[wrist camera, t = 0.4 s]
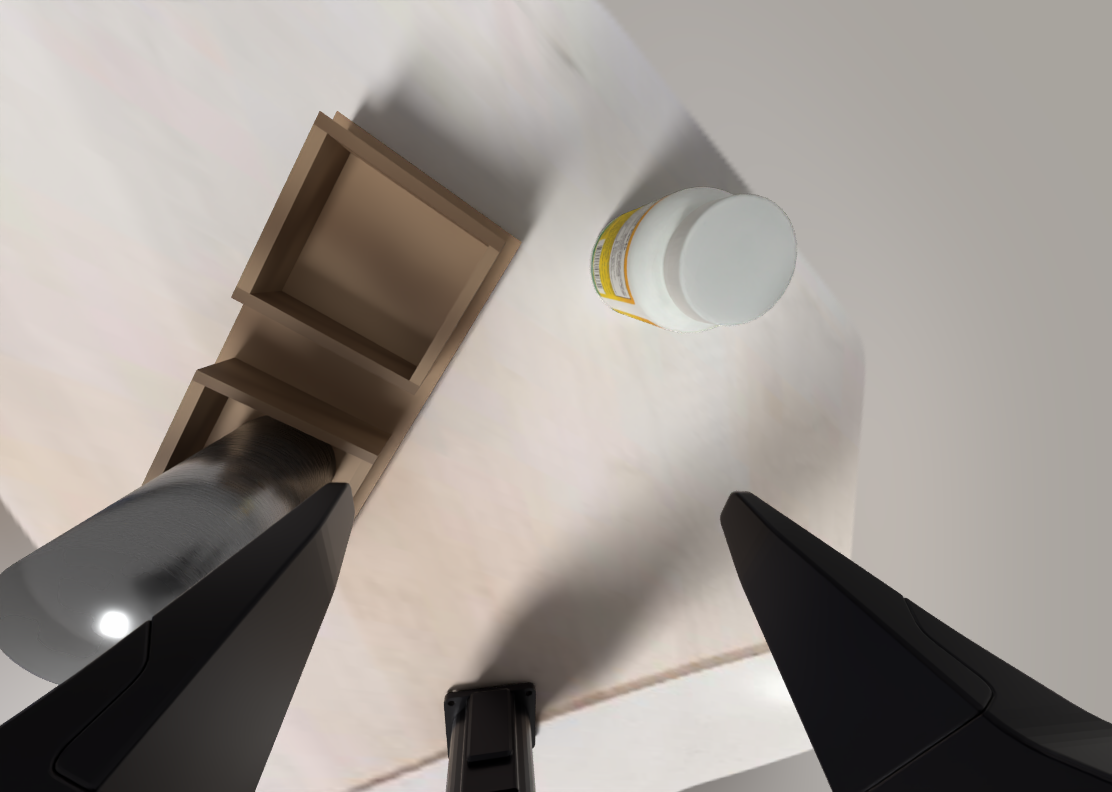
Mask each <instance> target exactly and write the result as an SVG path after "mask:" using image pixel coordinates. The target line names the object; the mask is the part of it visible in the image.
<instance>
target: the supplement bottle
mask: <svg viewBox="0 0 1112 792" xmlns="http://www.w3.org/2000/svg"><path fill="white" fill-rule="evenodd" d="M796 257H797V242H796V237H795V232H794V229H793V226H792V224H791V222H790V220H789V218H788V216H787V215H786V213H785V212H784V211H783V210H782V209H781V208H780V207H779V206H778V205H777V204H775V203H774V202H772V201H771V200H769V199H767V198H764V197H762V196H759V195H753V194H738V195H732V194H730V193H728V192H726V191H723V190H720V189H716V188H711V187H694V188H688V189H684V190H681V191H678V192H675V193H673V194H670V195H668V196H666V197H663V198H661V199H658V200H656V201H654V202H651V203H649V204H647V205H645V206H642V207H640V208H637V209H635V210H632V211H630V212H627V213H625V214H623V215H621V216H619V217H617V218H615V219H614V220H613V221H611V222H610V223H609V224H608V225H607V226H606V227H605V228H604V229H603V230H602V232H601V233H600V235H599V236H598V238H597V240H596V242H595V244H594V246H593V249H592V253H591V258H590V276H591V281H592V284H593V287H594V289H595V291H596V293H597V295H598V296H599V298H600V299H601V300H602V301H603V302H604V303H605V304H606V305H607V306H608V307H609V308H611V309H612V310H614V311H616V312H618V313H621V314H623V315H626V316H629V317H632V318H635V319H638V320H641V321H643V322H646V323H649V324H652V325H655V326H658V327H660V328H663V329H666V330H669V331H673V332H678V333H697V332H703V331H707V330H710V329H713V328H715V327H717V326H719V325H720V326H735V325H742V324H745V323H748V322H751V321H752V320H755V319H757V318H758V317H760V316H762V315H763V314H765V313H766V312H767V311H768V310H770V309H771V308H772V307H773V306H774V305H775V304H776V303H777V301H778V300H779V299H780V298H781V296H782V295H783V294H784V292H785V290H786V288H787V287H788V285H789V283H790V280H791V278H792V276H793V273H794V269H795V264H796Z"/></svg>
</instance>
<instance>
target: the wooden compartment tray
mask: <svg viewBox="0 0 1112 792" xmlns="http://www.w3.org/2000/svg"><path fill="white" fill-rule="evenodd" d="M521 243H522V242H521V241H519V240H518V239H516V238H515V237H514V236H512V235H511V234H509V233H508V232H507V231H505V230H504V229H502V228H501V227H500V226H498V225H497V224H495V223H494V222H493V221H491V220H490V219H488V218H487V217H485V216H484V215H483V214H481V213H480V212H478V211H477V210H476V209H474V208H473V207H471V206H470V205H469V204H467V203H466V202H464V201H463V200H462V199H460V198H459V197H457V196H456V195H455V194H453V193H452V192H450V191H449V190H448V189H446V188H445V187H443V186H442V185H441V184H439V183H438V182H436V181H435V180H434V179H432V178H431V177H429V176H428V175H427V174H425V173H424V172H422V171H421V170H419V169H418V168H417V167H415V166H414V165H412V164H411V163H410V162H408V161H407V160H405V159H404V158H403V157H401V156H400V155H398V154H397V153H396V152H394V151H393V150H391V149H390V148H389V147H387V146H386V145H384V144H383V143H382V142H380V141H379V140H377V139H376V138H375V137H373V136H372V135H370V134H369V133H368V132H366V131H365V130H363V129H362V128H361V127H359V126H358V125H356V124H355V123H353V122H352V121H351V120H349V119H348V118H346V117H345V116H344V115H342V114H341V113H339V112H338V111H337V112H336V114H335V116H334V118H333V120H332V119H331V118H329V117H328V116H326V115H325V114H324V113H322V112H321V111H319V114H318V116H317V118H316V120H315V122H314V124H313V126H312V128H311V130H310V133H309V135H308V137H307V139H306V141H305V143H304V145H303V147H302V149H301V151H300V154H299V156H298V158H297V160H296V162H295V164H294V166H293V168H292V170H291V173H290V175H289V177H288V179H287V181H286V183H285V185H284V187H283V189H282V191H281V194H280V196H279V198H278V200H277V202H276V204H275V206H274V208H273V210H272V213H271V215H270V217H269V219H268V221H267V223H266V225H265V227H264V229H263V231H262V234H261V236H260V238H259V240H258V242H257V244H256V246H255V248H254V250H253V252H252V255H251V257H250V259H249V261H248V263H247V265H246V267H245V269H244V271H243V274H242V276H241V278H240V280H239V282H238V284H237V286H236V288H235V290H234V292H233V295H232V297H231V298H233V299H235V300H237V301H239V302H241V303H242V304H243V306H242V308H241V311H240V313H239V315H238V317H237V319H236V321H235V323H234V325H233V327H232V329H231V331H230V333H229V335H228V337H227V340H226V342H225V344H224V346H223V348H222V350H221V352H220V354H219V356H218V358H217V360H216V362H215V364H213V365H210V366H207V367H204V368H201V369H198V370H196V372H195V375H194V377H193V379H192V381H191V383H190V385H189V387H188V389H187V391H186V393H185V396H184V398H183V400H182V402H181V404H180V406H179V408H178V410H177V412H176V415H175V417H174V419H173V421H172V423H171V425H170V427H169V429H168V431H167V433H166V436H165V438H164V440H163V442H162V444H161V446H160V448H159V450H158V452H157V455H156V457H155V459H154V461H153V463H152V465H151V467H150V469H149V471H148V473H147V476H146V478H145V480H144V482H143V484H142V486H143V485H145V484H146V483H148V482H149V481H151V480H153V479H154V478H156V477H158V476H159V475H161V474H163V473H164V472H166V471H168V470H169V469H171V468H173V467H174V466H176V465H177V464H179V463H181V462H182V461H184V460H186V459H187V458H189V457H191V456H192V455H194V454H196V453H197V452H199V451H201V450H202V449H204V448H206V447H207V446H209V445H210V444H212V443H214V442H215V441H217V440H219V439H220V438H222V437H224V436H225V435H227V434H229V433H230V432H232V431H234V430H235V429H237V428H238V427H240V426H242V425H243V424H245V423H247V422H248V421H251V420H253V419H255V418H258V417H261V416H266V415H268V416H270V417H272V418H274V419H276V420H279V421H281V422H283V423H285V424H287V425H289V426H291V427H294V428H296V429H298V430H300V431H302V432H304V433H306V434H309V435H311V436H313V437H315V438H317V439H319V440H321V441H324V442H326V443H328V444H330V445H331V446H332V448H333V450H334V453H335V458H336V471H335V475H334V477H333V480H332V481H331V482H346V483H349V484H350V486H351V490H352V496H353V502H354V508H355V516H354V519H355V517H356V516H357V514H358V512H359V511H360V509H361V507H362V506H363V504H364V502H365V501H366V499H367V498H368V496H369V494H370V493H371V491H372V489H373V488H374V486H375V484H376V483H377V481H378V479H379V478H380V476H381V474H382V473H383V471H384V469H385V468H386V466H387V464H388V463H389V461H390V459H391V458H392V456H393V455H394V453H395V451H396V450H397V448H398V446H399V445H400V443H401V441H402V440H403V438H404V436H405V435H406V433H407V431H408V430H409V428H410V426H411V425H412V423H413V421H414V420H415V418H416V416H417V415H418V413H419V412H420V410H421V408H422V407H423V405H424V403H425V402H426V400H427V398H428V397H429V395H430V393H431V392H432V390H433V388H434V387H435V385H436V383H437V382H438V380H439V378H440V377H441V375H442V373H443V372H444V370H445V369H446V367H447V365H448V364H449V362H450V360H451V359H452V357H453V355H454V354H455V352H456V350H457V349H458V347H459V345H460V344H461V342H462V340H463V339H464V337H465V335H466V334H467V332H468V331H469V329H470V327H471V326H472V324H473V322H474V321H475V319H476V317H477V316H478V314H479V312H480V311H481V309H482V307H483V306H484V304H485V302H486V301H487V299H488V297H489V296H490V294H491V292H492V291H493V289H494V288H495V286H496V284H497V283H498V281H499V279H500V278H501V276H502V274H503V273H504V271H505V269H506V268H507V266H508V264H509V263H510V261H511V259H512V258H513V256H514V254H515V253H516V251H517V249H518V248H519V246H520V245H521Z"/></svg>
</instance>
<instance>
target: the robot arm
mask: <svg viewBox="0 0 1112 792" xmlns="http://www.w3.org/2000/svg"><path fill="white" fill-rule="evenodd" d="M354 516H355V508H354V502H353V496H352V490H351V486H350V484H349V483H346V482H330V483H327V484H325V485H324V486H323V487H321V488H320V489H319V490H317V491H316V492H315V493H313V494H312V495H311V496H310V497H308V498H307V499H306V500H304V501H303V502H302V503H300V504H299V505H298V506H296V507H295V508H294V509H292V510H291V511H290V512H289V513H287V514H286V515H285V516H283V517H282V518H281V519H279V520H278V521H277V522H275V523H274V524H273V525H271V526H270V527H269V528H268V529H266V530H265V531H264V532H262V533H261V534H260V535H258V536H257V537H256V538H254V539H253V540H252V541H250V542H249V543H248V544H247V545H245V546H244V547H243V548H241V549H240V550H239V551H237V552H236V553H235V554H233V555H232V556H231V557H229V558H228V559H227V560H226V561H224V562H223V563H222V564H220V565H219V566H218V567H216V568H215V569H214V570H212V571H211V572H210V573H208V574H207V575H206V576H205V577H203V578H202V579H201V580H199V581H198V582H197V583H195V584H194V585H193V586H191V587H190V588H189V589H187V590H186V591H185V592H184V593H182V594H181V595H180V596H178V597H177V598H176V599H174V600H173V601H172V602H170V603H169V604H168V605H166V606H165V607H164V608H163V609H161V610H160V611H159V612H157V613H156V614H155V615H153V617H152V620H147V621H145V622H144V623H143V624H141V625H140V626H139V627H137V628H136V629H135V630H133V631H132V632H131V633H129V634H128V635H127V636H126V637H124V638H123V639H122V640H120V641H119V642H118V643H116V644H115V645H114V646H112V647H111V648H109V649H108V650H107V651H105V652H104V653H103V654H101V655H100V656H99V657H97V658H96V659H95V660H93V661H92V662H90V663H89V664H88V665H86V666H85V667H84V668H82V669H81V670H80V671H78V672H77V673H76V674H74V675H73V676H71V677H70V678H68V679H67V680H65V681H64V682H63V683H61V684H60V685H58V686H57V687H55V688H54V689H53V690H51V691H50V692H48V693H47V694H46V695H44V696H43V697H41V698H40V699H38V700H37V701H35V702H34V703H32V704H31V705H30V706H28V707H27V708H25V709H24V710H22V711H21V712H20V713H18V714H17V715H15V716H14V717H12V718H11V719H9V720H8V721H6V722H5V723H3V724H2V725H1V726H0V792H255V790H256V787H257V785H258V782H259V780H260V777H261V775H262V772H263V770H264V767H265V765H266V762H267V760H268V757H269V755H270V752H271V750H272V747H273V745H274V742H275V740H276V737H277V735H278V732H279V730H280V727H281V724H282V722H283V719H284V717H285V714H286V712H287V709H288V707H289V704H290V702H291V699H292V697H293V694H294V692H295V689H296V687H297V684H298V682H299V679H300V677H301V674H302V672H303V669H304V667H305V664H306V662H307V659H308V657H309V654H310V652H311V649H312V646H313V644H314V641H315V639H316V636H317V634H318V631H319V629H320V626H321V624H322V621H323V619H324V616H325V614H326V611H327V609H328V606H329V604H330V601H331V598H332V596H333V593H334V590H335V587H336V584H337V580H338V577H339V573H340V570H341V566H342V562H343V558H344V555H345V551H346V547H347V544H348V540H349V536H350V533H351V529H352V525H353V522H354ZM720 521H721V526H722V529H723V532H724V535H725V538H726V541H727V544H728V547H729V550H730V553H731V556H732V559H733V562H734V565H735V568H736V571H737V574H738V577H739V579H740V582H741V584H742V587H743V589H744V592H745V594H746V596H747V598H748V601H749V603H750V605H751V608H752V610H753V612H754V614H755V617H756V619H757V621H758V624H759V626H760V628H761V630H762V633H763V635H764V637H765V639H766V642H767V644H768V646H769V649H770V651H771V653H772V655H773V658H774V660H775V662H776V664H777V667H778V669H779V671H780V674H781V676H782V678H783V680H784V683H785V685H786V687H787V689H788V692H789V694H790V696H791V699H792V701H793V703H794V705H795V708H796V710H797V712H798V714H799V717H800V719H801V721H802V724H803V726H804V728H805V730H806V733H807V735H808V737H809V739H810V742H811V744H812V746H813V749H814V751H815V753H816V755H817V758H818V760H819V762H820V764H821V767H822V769H823V771H824V773H825V776H826V778H827V780H828V783H829V785H830V787H831V789H832V792H1112V724H1111V723H1109V722H1107V721H1104V720H1102V719H1100V718H1098V717H1096V716H1095V715H1093V714H1091V713H1089V712H1087V711H1085V710H1083V709H1082V708H1080V707H1078V706H1076V705H1075V704H1073V703H1071V702H1069V701H1068V700H1066V699H1065V698H1063V697H1062V696H1060V695H1058V694H1057V693H1055V692H1054V691H1052V690H1050V689H1048V688H1047V687H1045V686H1044V685H1042V684H1041V683H1039V682H1037V681H1036V680H1034V679H1032V678H1031V677H1029V676H1027V675H1026V674H1024V673H1023V672H1021V671H1019V670H1018V669H1016V668H1015V667H1013V666H1011V665H1010V664H1008V663H1006V662H1005V661H1003V660H1002V659H1000V658H998V657H997V656H995V655H994V654H992V653H990V652H989V651H987V650H985V649H984V648H982V647H981V646H979V645H977V644H976V643H974V642H972V641H971V640H969V639H968V638H966V637H965V636H963V635H962V634H960V633H958V632H957V631H955V630H954V629H952V628H951V627H949V626H948V625H946V624H944V623H943V622H942V621H940V620H938V619H937V618H935V617H934V616H932V615H931V614H930V613H928V612H926V611H925V610H924V609H922V608H921V607H919V606H918V605H916V604H915V603H913V602H912V601H910V600H909V599H907V598H903V596H902V595H901V594H900V593H898V592H897V591H895V590H894V589H892V588H891V587H889V586H888V585H887V584H885V583H884V582H882V581H881V580H879V579H878V578H876V577H874V576H873V575H872V574H870V573H869V572H867V571H866V570H864V569H863V568H861V567H860V566H858V565H857V564H855V563H854V562H853V561H851V560H850V559H848V558H847V557H845V556H844V555H842V554H841V553H839V552H838V551H836V550H835V549H833V548H832V547H830V546H829V545H827V544H826V543H825V542H823V541H822V540H820V539H819V538H817V537H816V536H814V535H813V534H811V533H810V532H808V531H807V530H805V529H804V528H802V527H801V526H799V525H798V524H796V523H795V522H793V521H792V520H791V519H789V518H788V517H786V516H785V515H783V514H782V513H780V512H779V511H777V510H776V509H774V508H773V507H771V506H770V505H768V504H767V503H765V502H764V501H762V500H761V499H760V498H758V497H757V496H755V495H754V494H752V493H750V492H747V491H734V492H732V493H731V494H730V496H729V498H728V500H727V502H726V504H725V506H724V508H723V510H722V512H721V516H720ZM535 704H536V691H535V685H534V684H533V683H523V684H515V685H507V686H499V687H491V688H483V689H475V690H467V691H459V692H451V693H448V694H447V695H446V696H445V700H444V711H445V723H446V736H447V748H448V758H449V764H448V774H447V785H446V792H536V791H535V778H534V765H533V752H532V749H533V748H534V746H535Z"/></svg>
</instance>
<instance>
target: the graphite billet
mask: <svg viewBox="0 0 1112 792" xmlns="http://www.w3.org/2000/svg"><path fill="white" fill-rule="evenodd" d="M335 471H336V458H335V453H334V450H333V448H332V446H331V445H330V444H328V443H326V442H324V441H321V440H319V439H317V438H315V437H313V436H311V435H309V434H306V433H304V432H302V431H300V430H298V429H296V428H294V427H291V426H289V425H287V424H285V423H283V422H281V421H279V420H276V419H274V418H272V417H270V416H268V415H266V416H261V417H258V418H255V419H253V420H251V421H248V422H247V423H245V424H243V425H242V426H240V427H238V428H237V429H235V430H234V431H232V432H230V433H229V434H227V435H225V436H224V437H222V438H220V439H219V440H217V441H215V442H214V443H212V444H210V445H209V446H207V447H206V448H204V449H202V450H201V451H199V452H197V453H196V454H194V455H192V456H191V457H189V458H187V459H186V460H184V461H182V462H181V463H179V464H177V465H176V466H174V467H173V468H171V469H169V470H168V471H166V472H164V473H163V474H161V475H159V476H158V477H156V478H154V479H153V480H151V481H149V482H148V483H146V484H145V485H143V486H141V487H140V488H138V489H136V490H135V491H133V492H131V493H130V494H128V495H126V496H125V497H123V498H121V499H120V500H118V501H117V502H115V503H113V504H112V505H110V506H108V507H107V508H105V509H103V510H102V511H100V512H98V513H97V514H95V515H93V516H92V517H90V518H88V519H87V520H85V521H84V522H82V523H80V524H79V525H77V526H75V527H74V528H72V529H70V530H69V531H67V532H65V533H64V534H62V535H60V536H59V537H57V538H56V539H54V540H52V541H51V542H49V543H47V544H46V545H44V546H42V547H41V548H39V549H37V550H36V551H34V552H33V553H31V554H29V555H28V556H26V557H24V558H23V559H21V560H19V561H18V562H16V563H15V564H13V565H11V566H10V567H9V568H7V569H6V570H5V571H3V572H2V573H1V574H0V649H1V650H2V651H3V652H4V653H5V654H6V655H7V656H8V657H9V658H10V659H11V660H12V661H14V662H15V663H16V664H18V665H19V666H21V667H22V668H24V669H25V670H27V671H29V672H30V673H32V674H34V675H36V676H38V677H40V678H42V679H45V680H47V681H49V682H52V683H55V684H58V685H60V684H61V683H63V682H64V681H65V680H67V679H68V678H70V677H71V676H73V675H74V674H76V673H77V672H78V671H80V670H81V669H82V668H84V667H85V666H86V665H88V664H89V663H90V662H92V661H93V660H95V659H96V658H97V657H99V656H100V655H101V654H103V653H104V652H105V651H107V650H108V649H109V648H111V647H112V646H114V645H115V644H116V643H118V642H119V641H120V640H122V639H123V638H124V637H126V636H127V635H128V634H129V633H131V632H132V631H133V630H135V629H136V628H137V627H139V626H140V625H141V624H143V623H144V622H145V621H147V620H152V617H153V615H155V614H156V613H157V612H159V611H160V610H161V609H163V608H164V607H165V606H166V605H168V604H169V603H170V602H172V601H173V600H174V599H176V598H177V597H178V596H180V595H181V594H182V593H184V592H185V591H186V590H187V589H189V588H190V587H191V586H193V585H194V584H195V583H197V582H198V581H199V580H201V579H202V578H203V577H205V576H206V575H207V574H208V573H210V572H211V571H212V570H214V569H215V568H216V567H218V566H219V565H220V564H222V563H223V562H224V561H226V560H227V559H228V558H229V557H231V556H232V555H233V554H235V553H236V552H237V551H239V550H240V549H241V548H243V547H244V546H245V545H247V544H248V543H249V542H250V541H252V540H253V539H254V538H256V537H257V536H258V535H260V534H261V533H262V532H264V531H265V530H266V529H268V528H269V527H270V526H271V525H273V524H274V523H275V522H277V521H278V520H279V519H281V518H282V517H283V516H285V515H286V514H287V513H289V512H290V511H291V510H292V509H294V508H295V507H296V506H298V505H299V504H300V503H302V502H303V501H304V500H306V499H307V498H308V497H310V496H311V495H312V494H313V493H315V492H316V491H317V490H319V489H320V488H321V487H323V486H324V485H325V484H327V483H330V482H331V481H332V480H333V477H334V475H335Z"/></svg>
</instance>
